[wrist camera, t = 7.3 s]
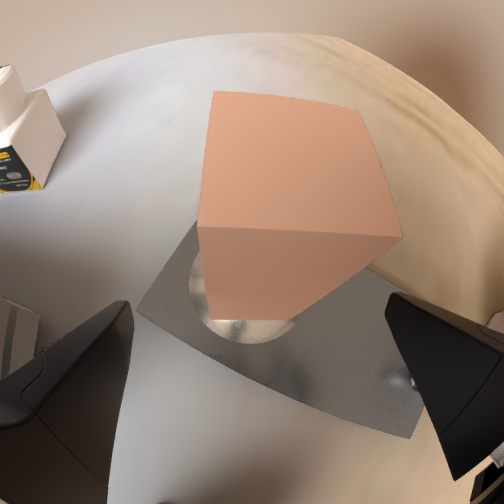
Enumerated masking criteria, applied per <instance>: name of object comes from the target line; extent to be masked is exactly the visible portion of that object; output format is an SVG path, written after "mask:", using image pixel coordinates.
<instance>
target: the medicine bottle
mask: <svg viewBox="0 0 504 504" xmlns="http://www.w3.org/2000/svg"><path fill="white" fill-rule="evenodd" d="M65 138H66V134H65V132H64V130H63V128H62V125H61V123H60V121H59V119H58V117H57V115H56V112H55V110H54V108H53V106H52V103H51V101H50V99H49V96H48V94H47V91H46V90H45V89H41V90H37V91H34V92H31V93H28V94H26V93H25V91H24V89H23V86H22V84H21V81H20V79H19V77H18V74H17V72H16V70H15V67H14V66H13V65H6V66H2V67H0V194H3V193H12V192H22V191H34V190H41V189H43V187H44V185H45V182H46V180H47V177H48V175H49V172H50V170H51V168H52V165H53V163H54V161H55V159H56V157H57V155H58V152H59V150H60V148H61V146H62V144H63V142H64V140H65Z"/></svg>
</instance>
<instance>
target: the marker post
mask: <svg viewBox="0 0 504 504" xmlns="http://www.w3.org/2000/svg"><path fill="white" fill-rule="evenodd" d="M197 231H198V239H199V247H200V254H201V262H202V269H203V276H204V283H205V289H206V296H207V302H208V308H209V314H210V320H290V319H291V318H293V317H295V316H296V315H298V314H299V313H301V312H302V311H304V310H305V309H307V308H308V307H310V306H311V305H313V304H314V303H316V302H317V301H318V300H320V299H321V298H323V297H324V296H326V295H327V294H329V293H330V292H331V291H333V290H334V289H336V288H337V287H339V286H340V285H341V284H343V283H344V282H346V281H347V280H348V279H350V278H351V277H352V276H354V275H355V274H356V273H358V272H359V271H361V270H362V269H363V268H365V267H366V266H367V265H369V264H370V263H371V262H372V261H374V260H375V259H376V258H378V257H379V256H380V255H382V254H383V253H384V252H385V251H387V250H388V249H389V248H390V247H392V246H393V245H394V244H396V243H397V242H398V241H399V240H400V239H402V238H403V235H402V231H401V228H400V224H399V220H398V217H397V213H396V210H395V206H394V203H393V200H392V196H391V193H390V190H389V187H388V184H387V181H386V178H385V175H384V172H383V169H382V167H381V164H380V161H379V158H378V156H377V153H376V151H375V148H374V146H373V143H372V141H371V138H370V136H369V133H368V131H367V129H366V126H365V124H364V122H363V120H362V117H361V115H360V113H359V111H358V110H353V109H349V108H345V107H340V106H336V105H331V104H326V103H321V102H315V101H310V100H304V99H297V98H291V97H283V96H275V95H266V94H256V93H244V92H227V91H214V92H213V98H212V104H211V111H210V118H209V124H208V131H207V139H206V146H205V154H204V162H203V171H202V179H201V189H200V198H199V209H198V220H197Z"/></svg>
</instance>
